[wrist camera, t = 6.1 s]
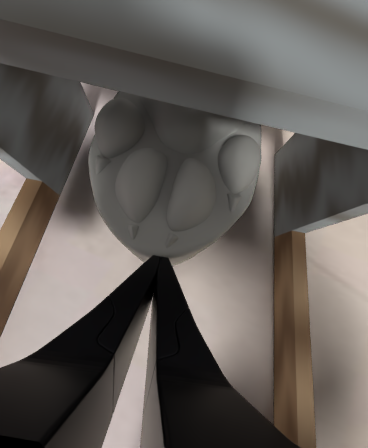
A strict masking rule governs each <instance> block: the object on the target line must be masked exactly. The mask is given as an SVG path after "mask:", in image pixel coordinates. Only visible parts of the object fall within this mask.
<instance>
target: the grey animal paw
mask: <svg viewBox="0 0 368 448" xmlns="http://www.w3.org/2000/svg"><path fill="white" fill-rule="evenodd" d="M260 164H261V124H256V123H252V122H248V121H244V120H240V119H235V118H231V117H227V116H223V115H218V114H214V113H210V112H206V111H201V110H197V109H193V108H189V107H184V106H180V105H176V104H172V103H167V102H163V101H159V100H155V99H150V98H146V97H142V96H138V95H134V94H129V93H125V92H121V91H119V92H118V93H117V94H116V96H115V97H114V99H113V100H111V101H109V102H108V103H107V104H106V105H105V106H104V107H103V108H102V109H101V110H100V112H99V114H98V116H97V118H96V122H95V135H94V138H93V141H92V143H91V146H90V150H89V155H88V165H89V175H90V181H91V187H92V191H93V196H94V200H95V203H96V206H97V209H98V211H99V213H100V215H101V217H102V218H103V220H104V222H105V223H106V225H107V226H108V228H109V229H110V230H111V232H112V233H113V234H114V235H115V236H116V238H117V239H118V240H119V241H120V242H121V243H122V244H123V245H124V246H125V247H126V248H128V249H129V250H130V251H131V252H132V253H133V254H134V255H136V256H137V257H138V258H139V259H140V260H142V261H143V262H146V261H147V260H148V259H149V258H150V257H151V256H152V255H156V256H160V258H161V257H168V258H169V260H170V262H171V265H172V266H173V265H177V264H179V263H182V262H184V261H186V260H188V259H190V258H192V257H193V256H195V255H196V254H198V253H199V252H201V251H202V250H204V249H205V248H207V247H208V246H210V245H211V244H212V243H214V242H215V241H217V240H218V239H219V238H220V237H221V236H222V235H223V234H225V233H226V232H227V231H228V230H229V229H230V228H231V227H232V226H233V224H234V223H235V222H236V221H237V220H238V219H239V218H240V217H241V215H242V214H243V213H244V212H245V210H246V209H247V208H248V206H249V204H250V202H251V200H252V197H253V194H254V190H255V186H256V183H257V179H258V174H259V168H260Z"/></svg>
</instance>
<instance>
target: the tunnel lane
mask: <svg viewBox="0 0 368 448" xmlns="http://www.w3.org/2000/svg"><path fill="white" fill-rule="evenodd" d="M80 82H83V83H87V84H91V85H95V86H100V87H104V88H108V89H112V90H117V91H121V92H125V93H129V94H134V95H138V96H142V97H146V98H150V99H155V100H159V101H163V102H167V103H172V104H176V105H180V106H184V107H189V108H193V109H197V110H201V111H206V112H210V113H214V114H218V115H223V116H227V117H231V118H235V119H240V120H244V121H248V122H252V123H256V124H261V125H265V126H269V127H273V128H278V129H282V130H286V131H290V132H295V134H294V135H293V136H292V137H291V138H290V139H289V140H288V141H287V142H286V143H285V145H284V146H283V147H282V148H281V149H280V150H279V151H278V152H277V153H276V154H275V209H274V426H275V427H276V428H277V429H278V430H279V431H281V432H282V433H283V434H284V435H285V436H286V437H287V438H289V439H290V440H291V441H292V442H293V443H295V444H296V445H298V446H299V447H301V448H316V435H315V416H314V397H313V378H312V359H311V340H310V321H309V302H308V284H307V265H306V246H305V233H307V232H310V231H313V230H316V229H320V228H323V227H326V226H329V225H333V224H336V223H339V222H342V221H345V220H349V219H352V218H355V217H358V216H361V215H365V214H368V0H0V159H1V160H2V161H4V162H5V163H6V164H8V165H9V166H10V167H12V168H13V169H14V170H16V171H17V172H19V173H20V174H21V175H23V176H24V177H25V178H26V180H25V182H24V184H23V186H22V188H21V190H20V192H19V194H18V196H17V198H16V200H15V202H14V204H13V206H12V208H11V210H10V212H9V214H8V216H7V218H6V220H5V222H4V224H3V226H2V228H1V230H0V336H1V333H2V331H3V329H4V326H5V324H6V321H7V319H8V317H9V314H10V312H11V310H12V307H13V305H14V303H15V300H16V298H17V295H18V293H19V291H20V288H21V286H22V284H23V281H24V279H25V276H26V274H27V272H28V269H29V267H30V265H31V262H32V260H33V257H34V255H35V253H36V250H37V248H38V246H39V243H40V241H41V239H42V236H43V234H44V231H45V229H46V227H47V224H48V222H49V220H50V217H51V215H52V212H53V210H54V208H55V205H56V203H57V201H58V198H59V196H60V194H61V191H62V189H63V186H64V184H65V182H66V179H67V177H68V175H69V172H70V170H71V167H72V165H73V163H74V160H75V158H76V156H77V153H78V151H79V149H80V146H81V144H82V141H83V139H84V137H85V134H86V132H87V130H88V127H89V125H90V122H91V120H92V118H93V115H94V114H93V111H92V109H91V107H90V104H89V102H88V99H87V97H86V95H85V92H84V90H83V87H82V85H81V83H80Z"/></svg>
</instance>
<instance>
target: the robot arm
mask: <svg viewBox="0 0 368 448" xmlns="http://www.w3.org/2000/svg"><path fill="white" fill-rule="evenodd" d="M153 293H154V294H153ZM152 298H153V300H152ZM151 301H152V310H151V322H150V334H149V347H148V359H147V371H146V383H145V395H144V407H143V420H142V431H141V443H140V448H301V447H299V446H298V445H296V444H295V443H293V442H292V441H291V440H290V439H289V438H287V437H286V436H285V435H284V434H283V433H282V432H281V431H279V430H278V429H277V428H276V427H275V426H274V425H273V424H272V423H271V422H270V421H269V420H268V419H266V418H265V417H264V416H263V415H262V414H261V413H260V412H259V411H258V410H257V409H256V408H255V407H253V406H252V405H251V404H250V403H249V402H248V401H247V400H246V399H245V398H244V397H243V396H241V395H240V394H239V393H238V392H237V391H236V390H235V389H234V388H233V387H232V386H231V384H230V383H229V382H228V380H227V379H226V378H225V376H224V375H223V373H222V371H221V370H220V368H219V366H218V364H217V362H216V361H215V359H214V357H213V355H212V353H211V352H210V350H209V348H208V346H207V344H206V342H205V341H204V339H203V337H202V335H201V333H200V331H199V329H198V327H197V325H196V323H195V321H194V319H193V316H192V314H191V311H190V309H189V307H188V304H187V302H186V299H185V297H184V294H183V292H182V289H181V287H180V284H179V282H178V279H177V277H176V275H175V272H174V270H173V267H172V265H171V262H170V260H169V258H168V257H161V258H160V256H156V255H152V256H151V257H150V258H149V259H148V260H147V261H146V262H145V263H143V264H142V265H141V266H140V267H139V268H138V269H137V270H136V271H135V272H134V273H133V274H131V275H130V276H129V277H128V278H127V279H126V280H125V281H124V282H123V283H122V284H121V285H119V286H118V287H117V288H116V289H115V290H114V291H113V292H112V293H111V294H110V295H109V296H107V297H106V298H105V299H104V300H103V301H102V302H101V303H100V304H98V305H97V306H96V307H95V308H94V309H93V310H91V311H90V312H89V313H88V314H86V315H85V316H84V317H82V318H81V319H80V320H79V321H77V322H76V323H75V324H73V325H72V326H70V327H69V328H68V329H66V330H65V331H64V332H62V333H61V334H60V335H58V336H57V337H56V338H54V339H53V340H52V341H50V342H49V343H48V344H46V345H45V346H44V347H42V348H41V349H39V350H38V351H36V352H35V353H33V354H31V355H29V356H28V357H26V358H24V359H22V360H20V361H17V362H15V363H12V364H9V365H7V366H4V367H1V368H0V448H102V445H103V442H104V439H105V436H106V433H107V430H108V427H109V424H110V421H111V419H112V414H113V413H114V410H115V407H116V404H117V401H118V398H119V395H120V392H121V389H122V386H123V383H124V380H125V378H126V375H127V372H128V369H129V366H130V363H131V360H132V357H133V354H134V351H135V348H136V345H137V342H138V340H139V337H140V334H141V331H142V328H143V325H144V322H145V319H146V316H147V313H148V310H149V307H150V304H151Z"/></svg>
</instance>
